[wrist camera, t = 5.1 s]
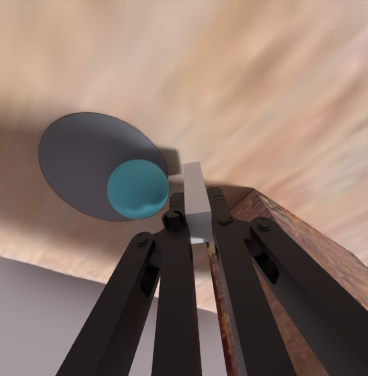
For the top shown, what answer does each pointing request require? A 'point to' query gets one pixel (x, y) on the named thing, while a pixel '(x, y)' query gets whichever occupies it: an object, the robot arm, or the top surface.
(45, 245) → the top surface
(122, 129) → the disc
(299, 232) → the book
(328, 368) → the robot arm
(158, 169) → the ball
